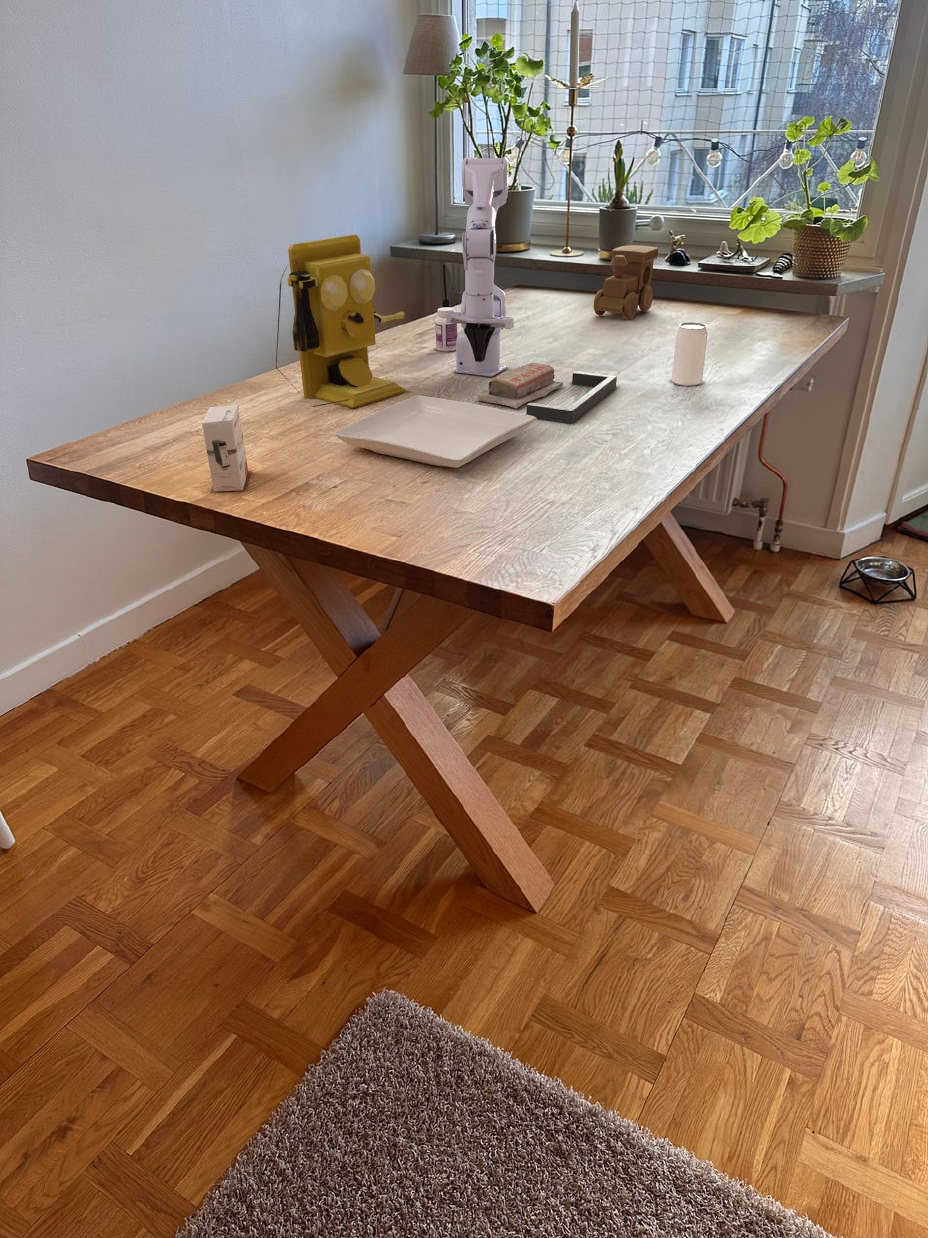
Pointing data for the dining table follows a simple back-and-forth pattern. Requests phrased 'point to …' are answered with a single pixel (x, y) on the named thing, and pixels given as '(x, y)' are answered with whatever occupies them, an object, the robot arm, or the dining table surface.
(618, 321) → the dining table surface
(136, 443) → the dining table surface
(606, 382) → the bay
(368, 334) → the vintage telephone
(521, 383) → the packaged product
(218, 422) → the ink box
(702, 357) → the can
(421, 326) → the dining table surface
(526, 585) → the dining table surface
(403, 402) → the square plate
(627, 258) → the wooden toy train
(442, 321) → the pill bottle
